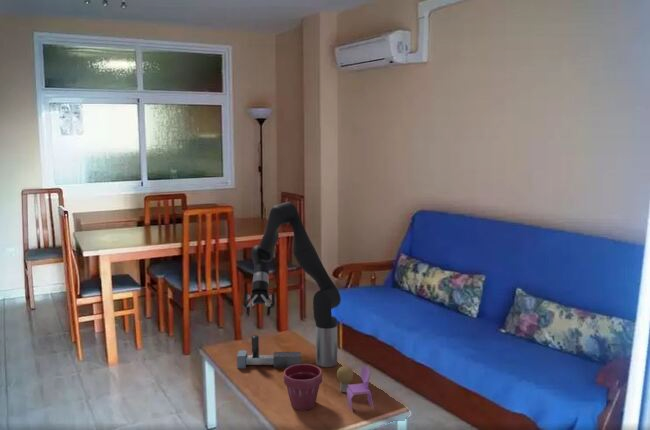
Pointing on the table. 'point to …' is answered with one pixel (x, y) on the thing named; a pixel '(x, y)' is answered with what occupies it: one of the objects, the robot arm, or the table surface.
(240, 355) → the socket
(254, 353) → the block with knob
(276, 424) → the table surface
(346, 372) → the light bulb
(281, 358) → the sleeve
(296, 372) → the plant pot
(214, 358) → the table surface
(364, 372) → the toy chair
